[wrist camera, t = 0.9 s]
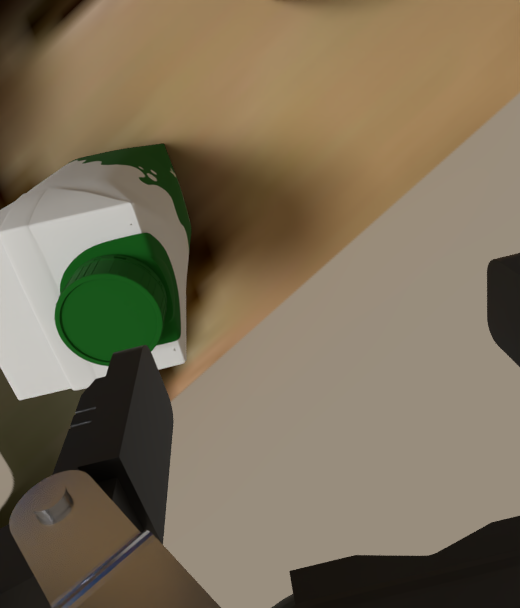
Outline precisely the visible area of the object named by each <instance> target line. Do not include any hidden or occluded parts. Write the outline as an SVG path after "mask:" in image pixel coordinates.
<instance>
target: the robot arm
mask: <svg viewBox="0 0 520 608" xmlns="http://www.w3.org/2000/svg"><path fill="white" fill-rule="evenodd" d="M487 320H488V326H489V330H490V333H491V335H492V337H493V339H494V341H495V342H496V343H497V345H498V346H499V347H500V348H501V349H502V350H503V351H504V352H505V353H506V354H507V355H508V356H509V357H510V358H511V359H512V360H513V361H514V362H515V363H516V364H517V365H518V366H519V367H520V253H518V254H514V255H510V256H506V257H502V258H498V259H493V260H492V261H490V263H489V265H488V269H487ZM70 426H71V429H69V431H68V433H67V436H66V439H65V442H64V444H63V447H62V450H61V453H60V455H59V458H58V461H57V463H56V466H55V469H54V472H53V474H52V476H50V477H48V478H46V479H44V480H42V481H41V482H39V483H38V484H36V485H35V486H34V487H32V488H31V489H30V490H29V491H28V492H27V493H26V494H25V495H24V496H23V497H22V498H21V499H20V501H19V502H18V503H17V505H16V506H15V508H14V510H13V512H12V514H11V517H10V522H9V524H8V525H7V526H5V527H3V528H1V529H0V608H221V607H220V606H219V605H218V604H217V603H216V602H215V601H214V600H213V599H212V598H211V597H210V596H209V594H208V593H207V592H206V591H205V590H204V589H203V588H202V587H201V586H200V585H199V584H198V583H197V581H196V580H195V579H194V578H193V577H192V576H191V575H190V574H189V573H188V572H187V571H186V569H184V567H183V566H182V565H181V564H180V563H179V562H178V561H177V560H176V559H175V558H174V556H173V555H172V554H171V553H170V552H169V551H168V550H167V549H166V548H165V547H164V546H163V536H164V524H165V512H166V501H167V490H168V478H169V467H170V455H171V444H172V433H173V412H172V406H171V402H170V399H169V396H168V393H167V391H166V388H165V386H164V383H163V381H162V378H161V376H160V373H159V371H158V368H157V366H156V363H155V361H154V358H153V356H152V353H151V351H150V349H149V348H148V346H147V345H142V346H138V347H134V348H130V349H126V350H122V351H118V352H114V353H113V355H112V357H111V360H110V364H109V367H108V370H107V373H106V376H105V377H101V378H97V379H95V380H94V381H93V382H92V384H91V385H90V386H89V387H88V388H87V389H86V390H85V392H84V393H83V394H82V395H81V398H80V401H79V403H78V406H77V409H76V415H74V417H73V420H72V422H71V425H70ZM290 577H291V583H292V589H293V594H292V595H290V596H288V597H287V598H285V599H283V600H282V601H280V602H279V603H277V604H276V605H275V606H273V607H272V608H520V516H517V517H513V518H509V519H504V520H500V521H496V522H492V523H490V524H488V525H486V526H485V527H483V528H481V529H479V530H477V531H476V532H474V533H472V534H470V535H469V536H467V537H465V538H463V539H461V540H460V541H457V542H456V543H454V544H452V545H450V546H448V547H447V548H445V549H443V550H441V551H439V552H438V553H435V554H433V555H429V556H373V555H371V556H370V555H368V556H367V555H355V556H351V557H346V558H342V559H338V560H334V561H329V562H325V563H321V564H317V565H313V566H309V567H304V568H300V569H296V570H292V571H290Z"/></svg>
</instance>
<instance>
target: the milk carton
mask: <svg viewBox="0 0 520 608" xmlns="http://www.w3.org/2000/svg"><path fill="white" fill-rule="evenodd" d="M190 239H191V224H190V220H189V216H188V212H187V208H186V205H185V201H184V198H183V195H182V191H181V188H180V185H179V182H178V179H177V176H176V174H175V171H174V169H173V166H172V163H171V161H170V158H169V156H168V153H167V150H166V148H165V145H164V144H156V145H148V146H141V147H133V148H126V149H121V150H115V151H110V152H105V153H100V154H96V155H91V156H86V157H82V158H79V159H76V160H73V161H71V162H70V163H68V164H67V165H65V166H64V167H62V168H61V169H59V170H58V171H57V172H55V173H54V174H52V175H51V176H49V177H48V178H47V179H45V180H44V181H42V182H41V183H40V184H38V185H37V186H35V187H34V188H33V189H31V190H30V191H29V192H27V193H26V194H22V195H21V196H20V197H19V198H18V200H16V201H15V202H13V203H11V204H10V205H8V206H6V207H5V208H3V209H1V210H0V367H1V369H2V371H3V373H4V374H5V376H6V378H7V380H8V382H9V384H10V385H11V387H12V389H13V391H14V393H15V395H16V396H17V398H18V400H23V399H27V398H32V397H36V396H40V395H45V394H49V393H53V392H58V391H62V390H66V389H71V388H72V390H81V389H85V388H88V387H89V386H90V385H91V384H92V382H93V381H94V380H95V379H97V378H101V377H105V376H106V373H107V370H108V367H109V364H110V360H111V357H112V355H113V353H114V352H118V351H122V350H126V349H130V348H134V347H138V346H142V345H147V346H148V348H149V349H150V351H151V353H152V356H153V358H154V361H155V363H156V366H157V368H158V370H159V369H163V368H167V367H171V366H175V365H179V364H183V363H184V362H185V361H186V279H187V268H188V258H189V249H190Z"/></svg>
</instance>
